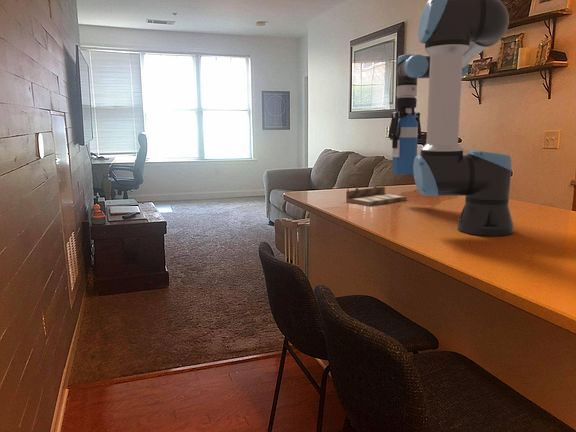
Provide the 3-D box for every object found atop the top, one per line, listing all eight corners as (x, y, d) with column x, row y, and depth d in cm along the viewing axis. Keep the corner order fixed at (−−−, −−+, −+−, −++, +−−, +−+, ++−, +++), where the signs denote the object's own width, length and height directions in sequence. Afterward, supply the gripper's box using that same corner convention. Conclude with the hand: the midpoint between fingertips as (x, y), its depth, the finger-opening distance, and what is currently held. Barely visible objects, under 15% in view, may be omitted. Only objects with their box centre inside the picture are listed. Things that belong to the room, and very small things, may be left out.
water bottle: (414, 172, 183) (416, 108, 179) (418, 174, 174) (420, 107, 170) (390, 172, 184) (392, 109, 180) (393, 174, 175) (395, 107, 171)
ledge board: (368, 206, 178) (369, 192, 177) (346, 201, 189) (346, 189, 188) (406, 200, 190) (406, 187, 189) (382, 196, 201) (383, 184, 200)
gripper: (394, 95, 165) (392, 158, 169) (432, 97, 177) (430, 155, 181) (379, 97, 171) (377, 157, 175) (417, 99, 183) (415, 155, 187)
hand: (404, 156), depth 178 cm, fingers closed on water bottle, 9 cm apart
